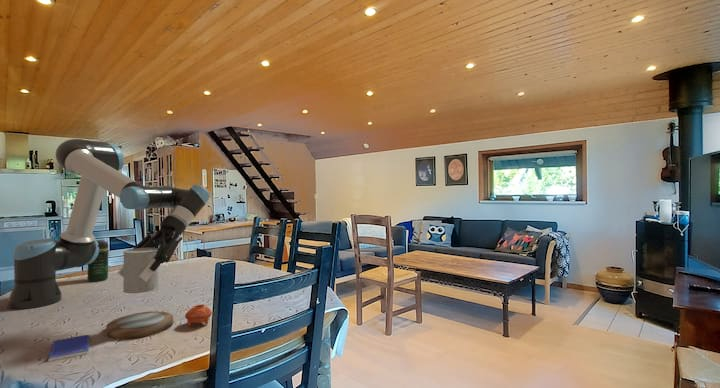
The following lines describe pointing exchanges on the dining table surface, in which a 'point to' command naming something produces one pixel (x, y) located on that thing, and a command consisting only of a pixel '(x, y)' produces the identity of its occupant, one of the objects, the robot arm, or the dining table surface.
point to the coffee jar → (99, 264)
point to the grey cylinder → (139, 270)
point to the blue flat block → (69, 347)
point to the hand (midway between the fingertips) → (131, 277)
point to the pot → (198, 314)
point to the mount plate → (139, 325)
